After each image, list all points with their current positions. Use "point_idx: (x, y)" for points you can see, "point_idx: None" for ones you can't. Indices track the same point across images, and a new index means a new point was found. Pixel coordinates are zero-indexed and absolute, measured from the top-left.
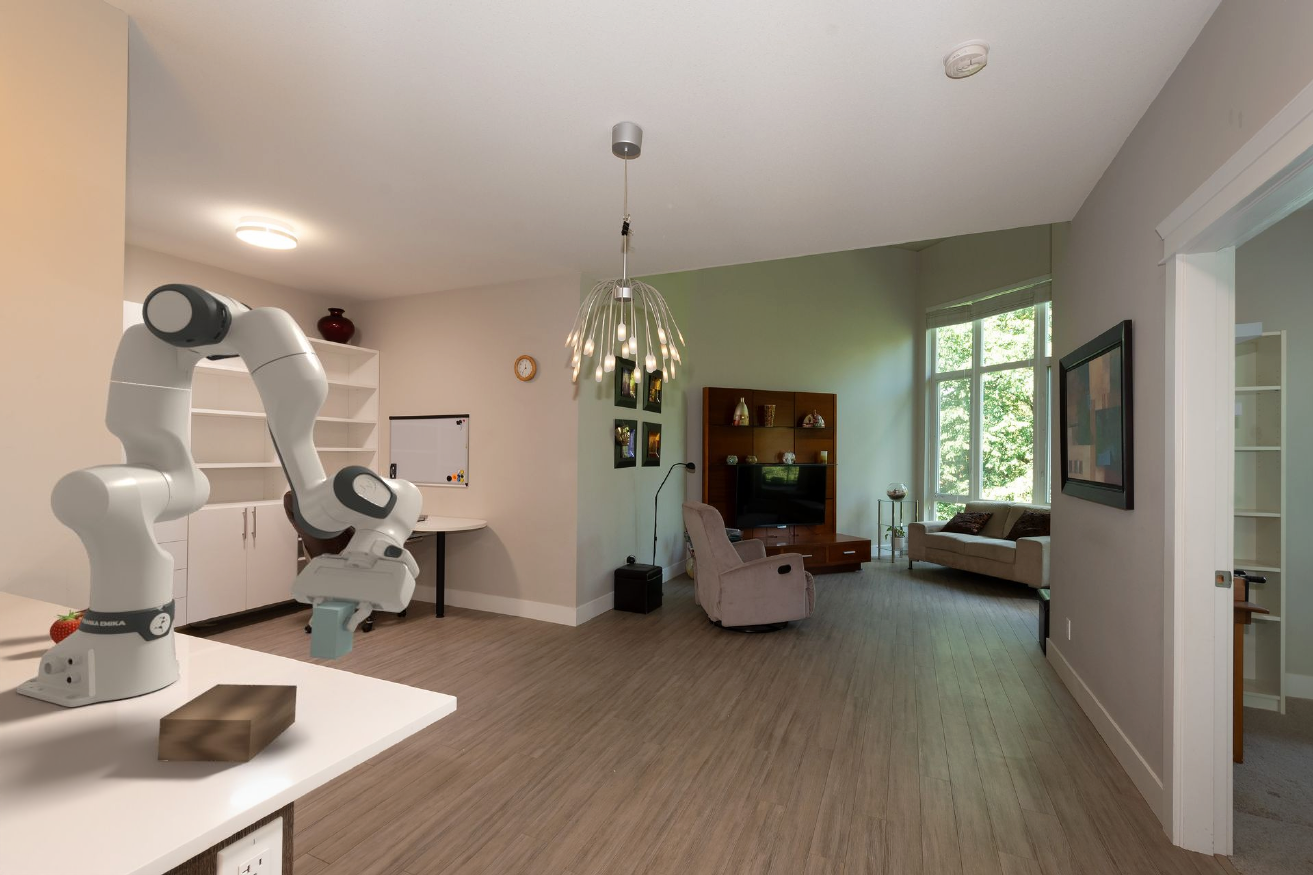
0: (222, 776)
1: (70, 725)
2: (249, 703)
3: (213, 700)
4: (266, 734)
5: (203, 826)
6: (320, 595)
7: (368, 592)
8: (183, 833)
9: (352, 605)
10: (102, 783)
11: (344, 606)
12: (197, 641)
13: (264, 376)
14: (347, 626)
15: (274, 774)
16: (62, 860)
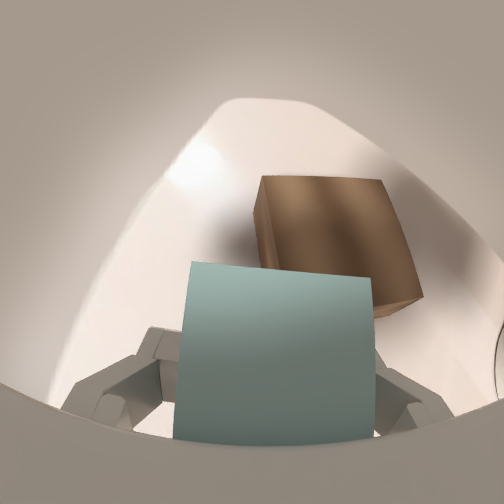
0: (258, 183)
1: (484, 273)
2: (314, 228)
3: (376, 235)
4: (261, 240)
5: (213, 123)
6: (446, 420)
7: (29, 446)
8: (223, 118)
9: (174, 421)
10: (361, 174)
11: (197, 354)
12: None
13: None
14: (164, 329)
15: (199, 190)
16: (283, 102)
